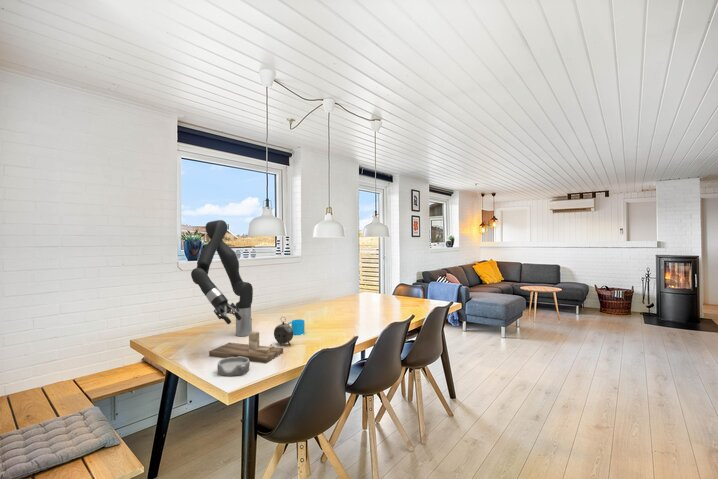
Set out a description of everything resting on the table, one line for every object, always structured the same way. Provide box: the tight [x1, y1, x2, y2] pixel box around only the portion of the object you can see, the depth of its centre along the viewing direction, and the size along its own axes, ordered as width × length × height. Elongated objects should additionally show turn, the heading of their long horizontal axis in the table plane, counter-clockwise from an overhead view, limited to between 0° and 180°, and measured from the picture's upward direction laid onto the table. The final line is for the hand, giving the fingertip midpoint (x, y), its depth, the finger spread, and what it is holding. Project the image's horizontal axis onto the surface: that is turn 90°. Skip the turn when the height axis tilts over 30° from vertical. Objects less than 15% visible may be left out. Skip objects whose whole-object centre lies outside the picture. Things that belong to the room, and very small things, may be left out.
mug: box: [287, 319, 306, 336], centre depth 222 cm, size 12×8×8 cm
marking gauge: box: [248, 330, 274, 355], centre depth 181 cm, size 10×10×10 cm
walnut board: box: [208, 342, 284, 364], centre depth 182 cm, size 16×34×2 cm, turn 73°
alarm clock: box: [273, 316, 294, 347], centre depth 198 cm, size 11×5×16 cm, turn 65°
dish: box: [217, 356, 251, 377], centre depth 159 cm, size 14×14×5 cm
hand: (235, 321), depth 182 cm, fingers open, 8 cm apart
